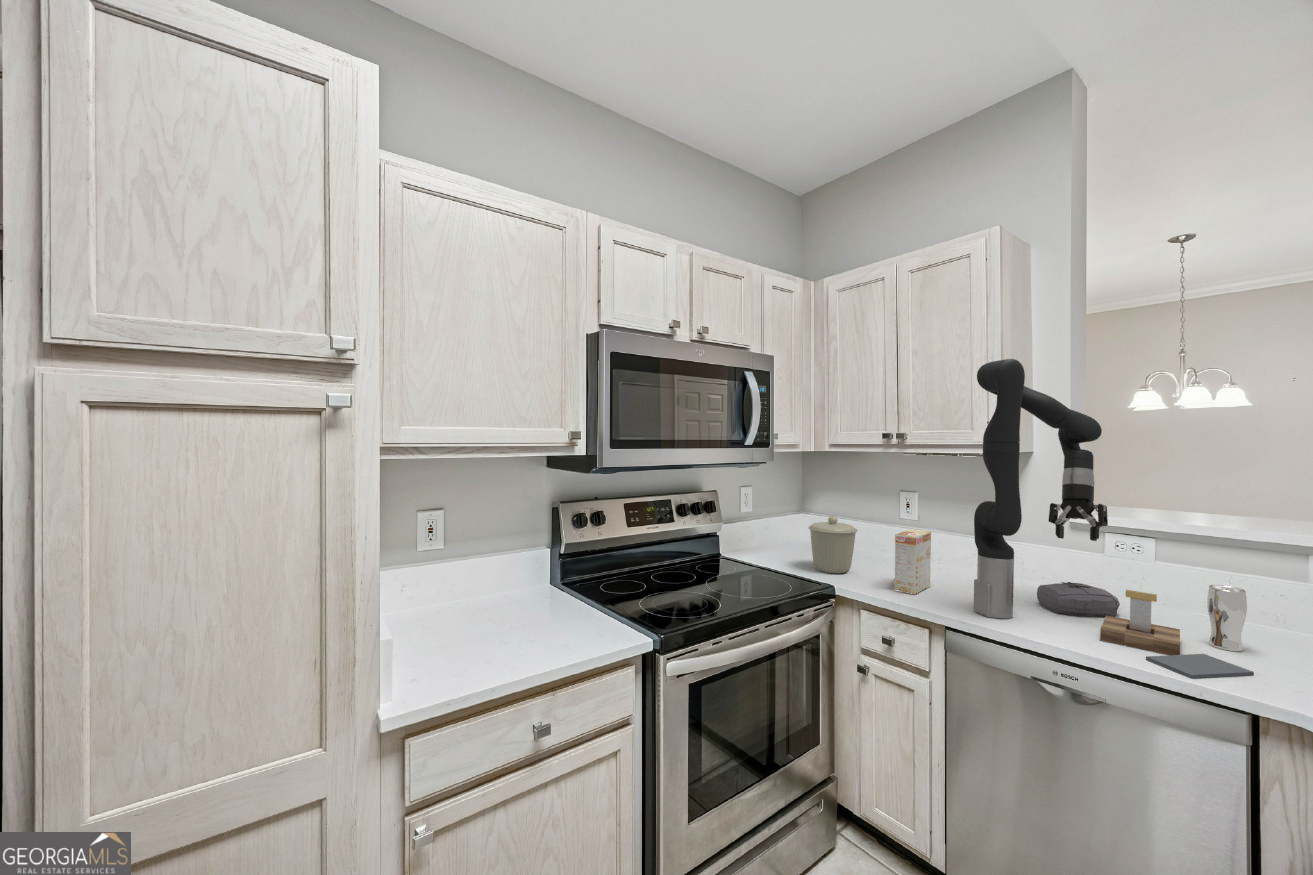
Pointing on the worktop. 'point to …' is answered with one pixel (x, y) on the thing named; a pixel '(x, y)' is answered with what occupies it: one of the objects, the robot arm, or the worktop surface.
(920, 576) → the coffeecake box
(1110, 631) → the socket block
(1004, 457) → the robot arm
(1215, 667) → the slate mat
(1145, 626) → the t key
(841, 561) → the canister
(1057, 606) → the grey rounded bag
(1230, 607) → the beer glass
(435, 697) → the worktop surface
